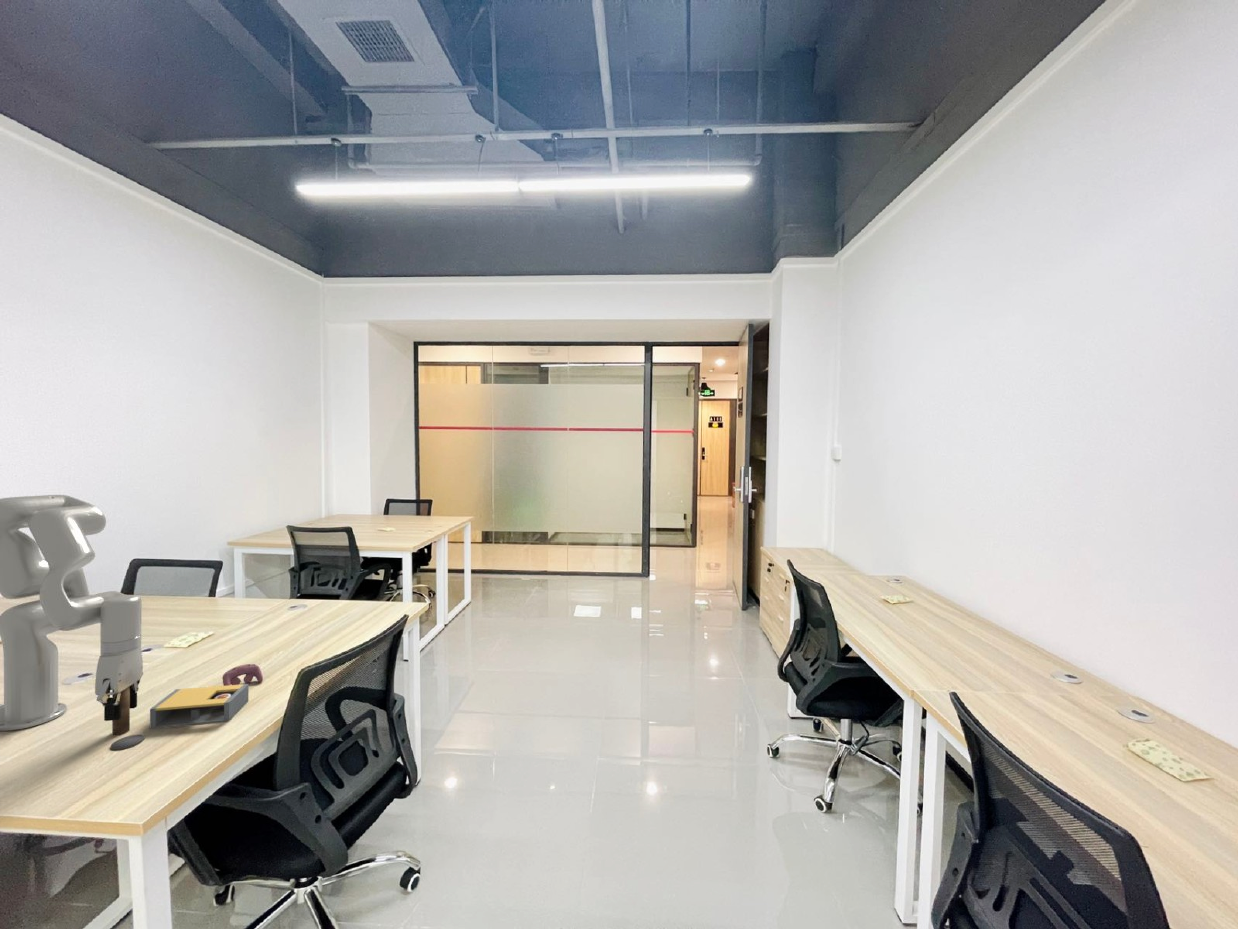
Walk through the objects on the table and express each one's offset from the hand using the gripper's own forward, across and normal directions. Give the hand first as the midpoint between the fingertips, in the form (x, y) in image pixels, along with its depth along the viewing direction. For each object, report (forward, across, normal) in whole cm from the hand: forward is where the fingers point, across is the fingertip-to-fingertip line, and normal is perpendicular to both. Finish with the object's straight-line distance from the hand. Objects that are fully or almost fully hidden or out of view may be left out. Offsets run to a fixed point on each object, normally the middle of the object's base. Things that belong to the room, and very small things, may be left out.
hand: (121, 713), depth 130 cm
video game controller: (+5, -23, +18) cm, 30 cm away
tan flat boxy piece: (+5, -6, +15) cm, 17 cm away
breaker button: (+2, -6, +20) cm, 21 cm away
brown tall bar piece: (+5, 0, 0) cm, 5 cm away
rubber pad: (+5, +6, +5) cm, 9 cm away
